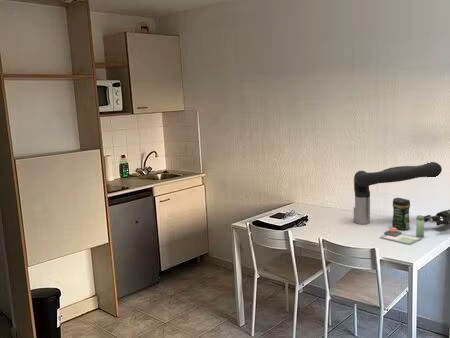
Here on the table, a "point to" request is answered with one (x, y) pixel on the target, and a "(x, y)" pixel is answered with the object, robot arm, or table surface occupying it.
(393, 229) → the button
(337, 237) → the table surface
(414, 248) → the table surface
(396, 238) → the board
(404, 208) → the coffee jar
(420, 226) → the marker
